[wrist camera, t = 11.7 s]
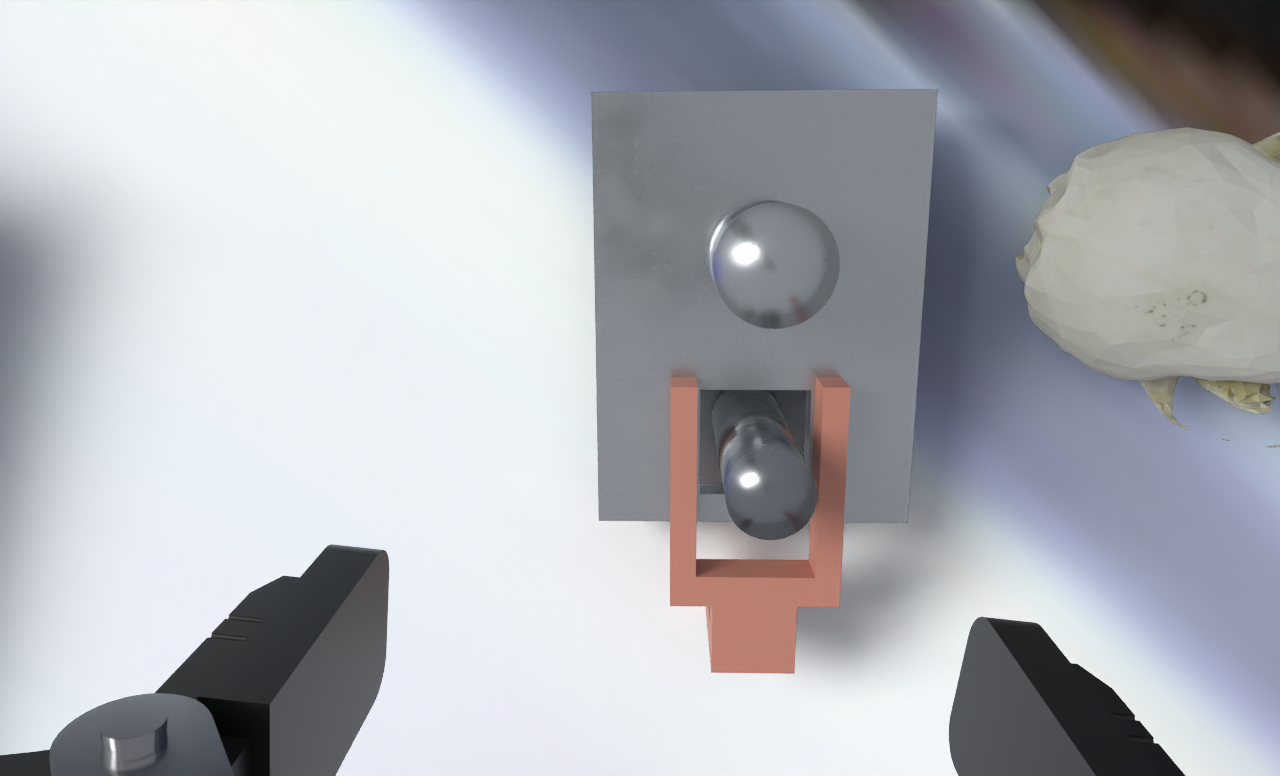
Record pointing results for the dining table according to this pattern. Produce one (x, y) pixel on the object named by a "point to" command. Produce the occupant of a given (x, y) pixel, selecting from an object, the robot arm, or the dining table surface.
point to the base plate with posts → (759, 274)
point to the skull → (1165, 263)
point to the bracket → (758, 589)
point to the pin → (761, 466)
